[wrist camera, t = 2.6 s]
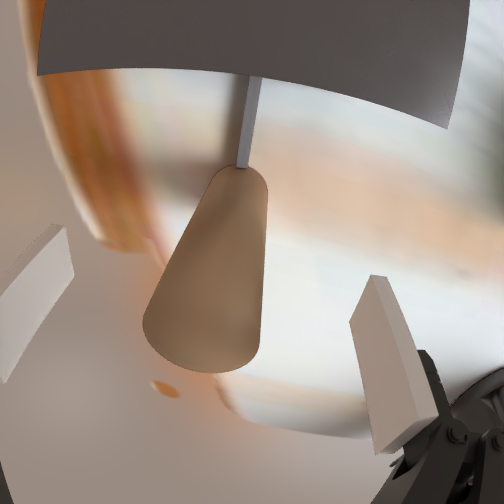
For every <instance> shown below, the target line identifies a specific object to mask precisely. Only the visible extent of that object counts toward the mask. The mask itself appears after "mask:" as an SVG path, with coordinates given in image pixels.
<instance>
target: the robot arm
mask: <svg viewBox="0 0 504 504" xmlns="http://www.w3.org/2000/svg"><path fill="white" fill-rule="evenodd" d="M73 278H74V271H73V266H72V261H71V256H70V251H69V246H68V240H67V234H66V228H65V226H61V225H55V224H52V225H51V226H49V227H48V228H47V229H46V230H45V231H44V232H43V233H42V234H41V235H40V236H39V237H38V238H37V239H36V240H35V241H34V242H33V243H32V244H31V245H30V246H29V247H28V248H27V249H26V250H25V251H24V252H23V253H22V254H21V255H20V256H19V257H18V258H17V259H16V260H15V261H14V262H13V263H12V264H11V266H10V267H9V268H8V269H7V270H6V271H5V272H4V273H3V274H2V275H1V276H0V382H2V383H4V384H5V383H6V381H7V379H8V378H9V376H10V374H11V372H12V371H13V369H14V367H15V365H16V364H17V362H18V360H19V359H20V357H21V355H22V354H23V352H24V350H25V349H26V347H27V345H28V344H29V342H30V341H31V339H32V337H33V336H34V334H35V333H36V331H37V330H38V328H39V326H40V325H41V323H42V322H43V321H44V319H45V318H46V316H47V315H48V313H49V312H50V310H51V309H52V307H53V306H54V304H55V303H56V301H57V300H58V299H59V297H60V296H61V294H62V293H63V292H64V290H65V289H66V287H67V286H68V285H69V283H70V282H71V281H72V279H73ZM349 323H350V328H351V332H352V336H353V341H354V345H355V349H356V354H357V359H358V363H359V368H360V373H361V378H362V383H363V388H364V393H365V398H366V403H367V409H368V414H369V420H370V426H371V432H372V438H373V444H374V451H375V455H383V454H392V453H395V452H396V451H398V450H399V449H400V448H401V447H403V449H404V454H403V455H402V456H401V457H399V458H398V459H396V460H395V461H394V462H392V464H391V465H390V467H393V466H394V465H396V466H395V468H394V469H393V471H392V472H391V474H390V476H389V477H388V479H387V480H386V482H385V483H384V485H383V486H382V488H381V490H380V491H379V492H378V494H377V495H376V497H375V498H374V500H373V501H372V502H371V504H504V368H503V369H501V370H499V371H497V372H495V373H493V374H491V375H489V376H487V377H486V378H484V379H483V380H481V381H480V382H478V383H477V384H475V385H474V386H473V387H471V388H470V389H469V390H467V391H466V392H465V393H464V394H463V395H462V396H461V397H460V398H459V399H458V400H457V401H456V402H455V403H454V404H453V405H452V407H451V409H450V407H449V404H448V401H447V398H446V395H445V392H444V389H443V386H442V383H440V381H441V380H440V378H439V375H438V374H437V370H436V367H435V364H434V362H433V360H432V359H431V357H430V356H429V355H428V353H427V352H426V351H425V350H417V349H416V346H415V344H414V341H413V338H412V336H411V333H410V331H409V328H408V326H407V323H406V321H405V318H404V316H403V313H402V311H401V309H400V306H399V304H398V302H397V299H396V297H395V295H394V292H393V290H392V288H391V286H390V283H389V281H388V279H387V277H384V276H377V275H370V278H369V280H368V282H367V284H366V287H365V289H364V291H363V293H362V296H361V298H360V300H359V302H358V304H357V306H356V309H355V311H354V313H353V315H352V317H351V319H350V321H349ZM0 504H14V503H13V501H12V498H11V495H10V492H9V489H8V486H7V483H6V480H5V477H4V473H3V470H2V466H1V463H0Z"/></svg>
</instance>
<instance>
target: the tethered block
mask: <svg viewBox="0 0 504 504" xmlns="http://www.w3.org/2000/svg"><path fill="white" fill-rule="evenodd" d="M261 82H262V77H256V76H250V79H249V85H248V91H247V97H246V104H245V110H244V117H243V123H242V130H241V136H240V143H239V150H238V156H237V163H236V165H231V166H228V167H225V168H223V169H221V170H220V171H219V172H218V173H217V174H216V175H215V176H214V177H213V179H212V181H211V182H210V184H209V186H208V188H207V190H206V192H205V193H204V195H203V197H202V199H201V201H200V203H199V204H198V206H197V208H196V210H195V212H194V214H193V216H192V218H191V219H190V221H189V223H188V225H187V227H186V229H185V231H184V233H183V235H182V237H181V239H180V241H179V243H178V245H177V247H176V249H175V251H174V253H173V255H172V257H171V259H170V261H169V263H168V265H167V267H166V269H165V271H164V273H163V275H162V277H161V279H160V281H159V283H158V285H157V287H156V289H155V291H154V294H153V296H152V298H151V300H150V302H149V305H148V307H147V309H146V311H145V313H144V316H143V330H144V333H145V336H146V338H147V340H148V342H149V343H150V344H151V346H152V347H153V348H154V349H155V350H156V351H157V352H158V353H159V354H160V355H161V356H163V357H164V358H165V359H167V360H168V361H170V362H172V363H174V364H176V365H178V366H180V367H183V368H185V369H189V370H192V371H196V372H202V373H224V372H229V371H233V370H236V369H238V368H241V367H243V366H244V365H246V364H247V363H249V362H250V361H251V360H252V359H253V358H254V356H255V355H256V353H257V351H258V348H259V343H260V328H261V312H262V295H263V278H264V260H265V242H266V223H267V203H268V189H267V185H266V182H265V180H264V179H263V177H262V176H261V175H260V174H259V173H258V172H257V171H256V170H254V169H252V168H250V167H248V161H249V155H250V149H251V142H252V136H253V130H254V124H255V118H256V112H257V106H258V100H259V94H260V88H261Z"/></svg>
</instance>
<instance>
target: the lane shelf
mask: <svg viewBox="0 0 504 504" xmlns="http://www.w3.org/2000/svg"><path fill="white" fill-rule="evenodd" d="M469 6H470V0H46V4H45V9H44V15H43V21H42V28H41V36H40V44H39V54H38V67H37V76H39V75H46V74H54V73H62V72H71V71H82V70H96V69H116V68H168V69H189V70H203V71H215V72H225V73H233V74H242V75H249V76H256V77H263V78H269V79H275V80H281V81H286V82H292V83H297V84H302V85H306V86H311V87H316V88H320V89H324V90H328V91H333V92H337V93H341V94H344V95H348V96H352V97H355V98H359V99H363V100H366V101H369V102H373V103H376V104H379V105H382V106H385V107H389V108H392V109H395V110H398V111H400V112H403V113H406V114H409V115H412V116H415V117H417V118H420V119H423V120H425V121H428V122H430V123H433V124H435V125H438V126H440V127H443V128H445V129H447V128H448V124H449V120H450V116H451V112H452V108H453V104H454V100H455V95H456V91H457V86H458V81H459V76H460V71H461V66H462V60H463V54H464V48H465V41H466V34H467V25H468V16H469Z"/></svg>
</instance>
